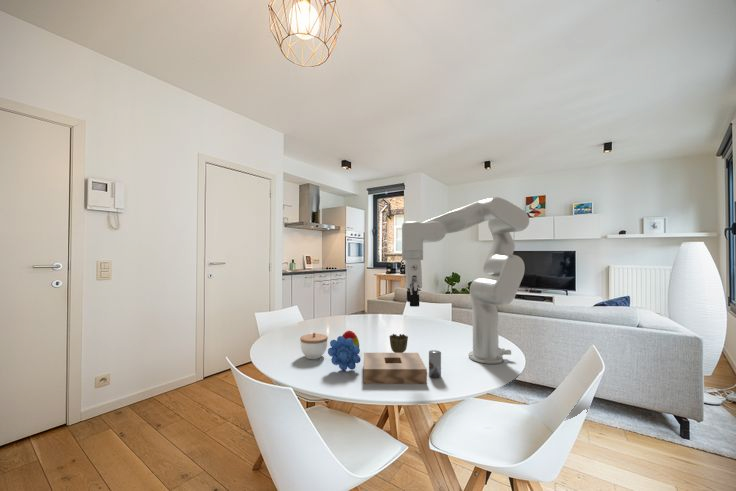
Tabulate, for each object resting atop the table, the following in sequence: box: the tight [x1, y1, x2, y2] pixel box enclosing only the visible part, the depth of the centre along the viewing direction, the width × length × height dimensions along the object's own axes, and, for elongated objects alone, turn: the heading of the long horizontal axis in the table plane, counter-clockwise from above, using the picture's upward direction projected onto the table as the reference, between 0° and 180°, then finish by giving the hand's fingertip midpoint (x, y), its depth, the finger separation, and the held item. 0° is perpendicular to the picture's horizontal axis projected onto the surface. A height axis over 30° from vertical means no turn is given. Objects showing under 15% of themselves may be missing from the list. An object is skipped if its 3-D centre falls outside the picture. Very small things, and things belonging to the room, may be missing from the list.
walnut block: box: [363, 352, 428, 385], centre depth 103 cm, size 20×16×4 cm
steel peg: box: [428, 349, 442, 379], centre depth 101 cm, size 4×4×8 cm
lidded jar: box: [299, 332, 328, 360], centre depth 120 cm, size 11×11×9 cm
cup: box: [389, 333, 409, 353], centre depth 121 cm, size 8×7×8 cm
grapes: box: [327, 335, 361, 371], centre depth 105 cm, size 12×7×12 cm, turn 90°
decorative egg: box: [342, 330, 360, 348], centre depth 121 cm, size 8×8×10 cm
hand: (412, 304), depth 107 cm, fingers open, 9 cm apart
